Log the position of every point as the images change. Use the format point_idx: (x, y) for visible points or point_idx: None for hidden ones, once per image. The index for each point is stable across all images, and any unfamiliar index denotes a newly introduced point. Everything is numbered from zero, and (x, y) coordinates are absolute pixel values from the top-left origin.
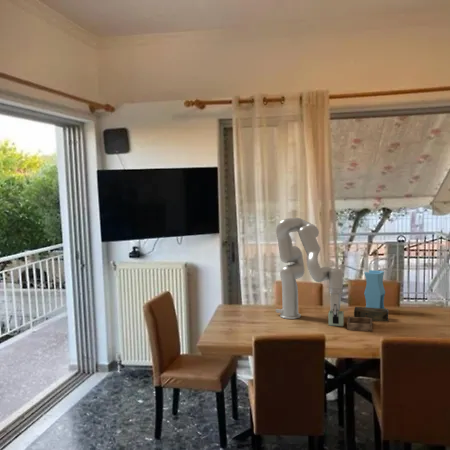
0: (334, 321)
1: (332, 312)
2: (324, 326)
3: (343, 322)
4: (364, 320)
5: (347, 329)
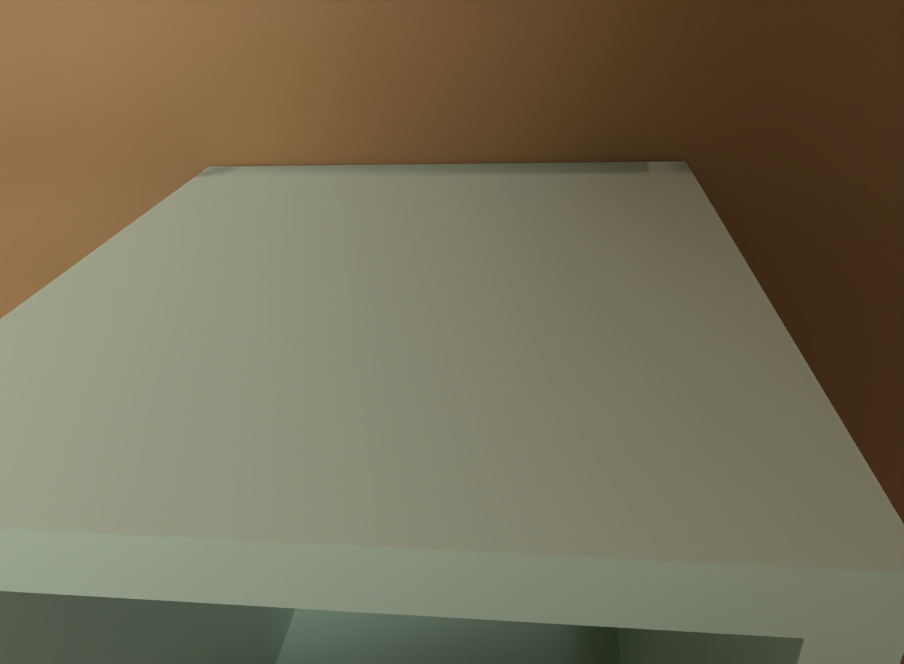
0: None
1: (732, 645)
2: (24, 15)
3: (462, 643)
4: None
5: None
